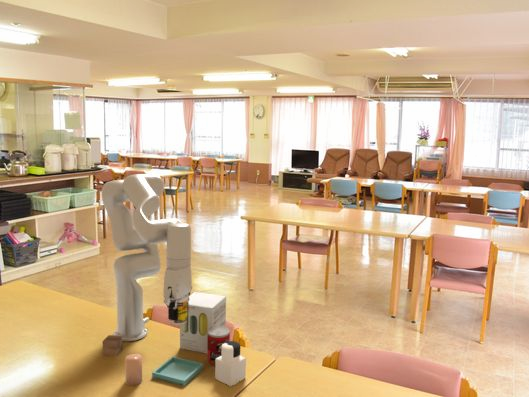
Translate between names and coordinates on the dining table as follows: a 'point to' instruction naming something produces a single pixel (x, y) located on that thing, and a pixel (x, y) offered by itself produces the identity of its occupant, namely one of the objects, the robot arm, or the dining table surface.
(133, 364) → the peach rounded capsule
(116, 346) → the walnut block
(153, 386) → the dining table surface
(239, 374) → the medicine bottle
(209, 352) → the canned food
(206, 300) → the supplement box
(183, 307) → the supplement bottle
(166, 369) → the tray
